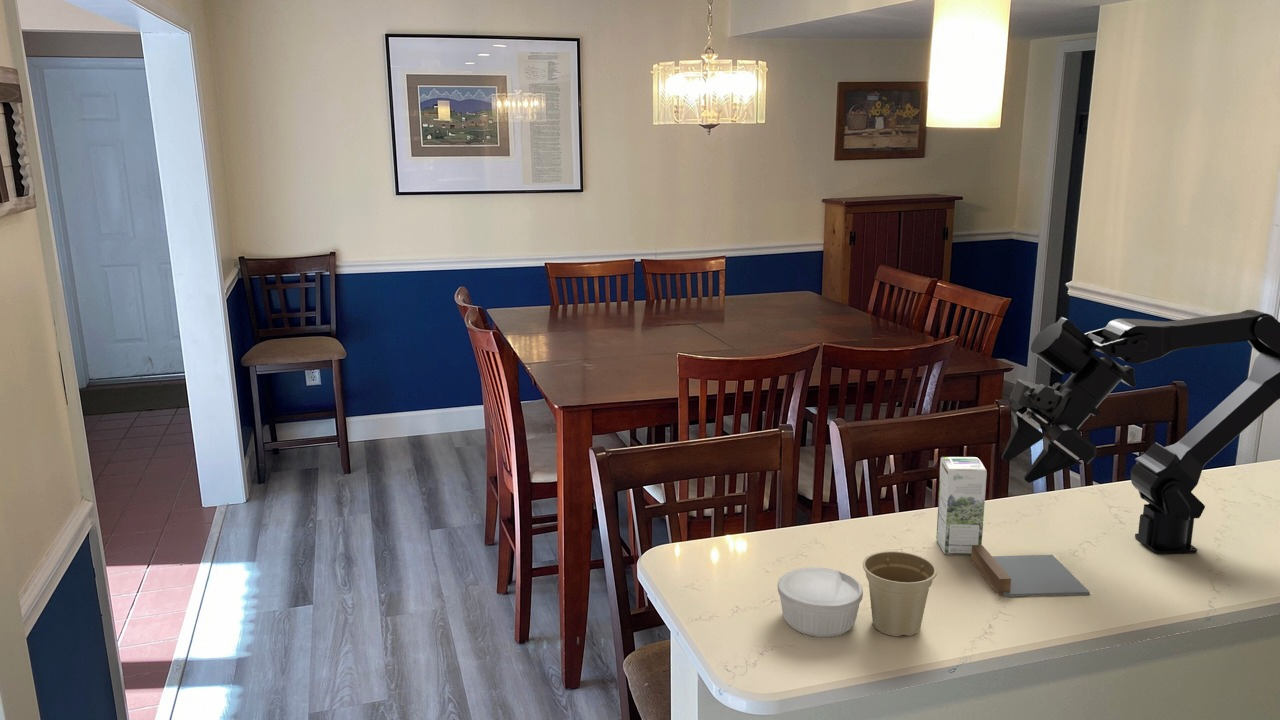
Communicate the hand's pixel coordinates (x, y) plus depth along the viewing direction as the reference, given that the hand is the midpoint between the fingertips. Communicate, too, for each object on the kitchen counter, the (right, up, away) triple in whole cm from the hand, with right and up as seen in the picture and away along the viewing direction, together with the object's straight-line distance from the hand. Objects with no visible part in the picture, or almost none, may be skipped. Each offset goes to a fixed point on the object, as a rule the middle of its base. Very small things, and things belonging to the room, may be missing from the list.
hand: (1014, 470), depth 141 cm
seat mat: (-1, -15, -6) cm, 16 cm away
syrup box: (-8, -13, +3) cm, 15 cm away
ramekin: (-33, -19, -17) cm, 42 cm away
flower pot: (-23, -19, -19) cm, 35 cm away
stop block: (-6, -15, -6) cm, 17 cm away
